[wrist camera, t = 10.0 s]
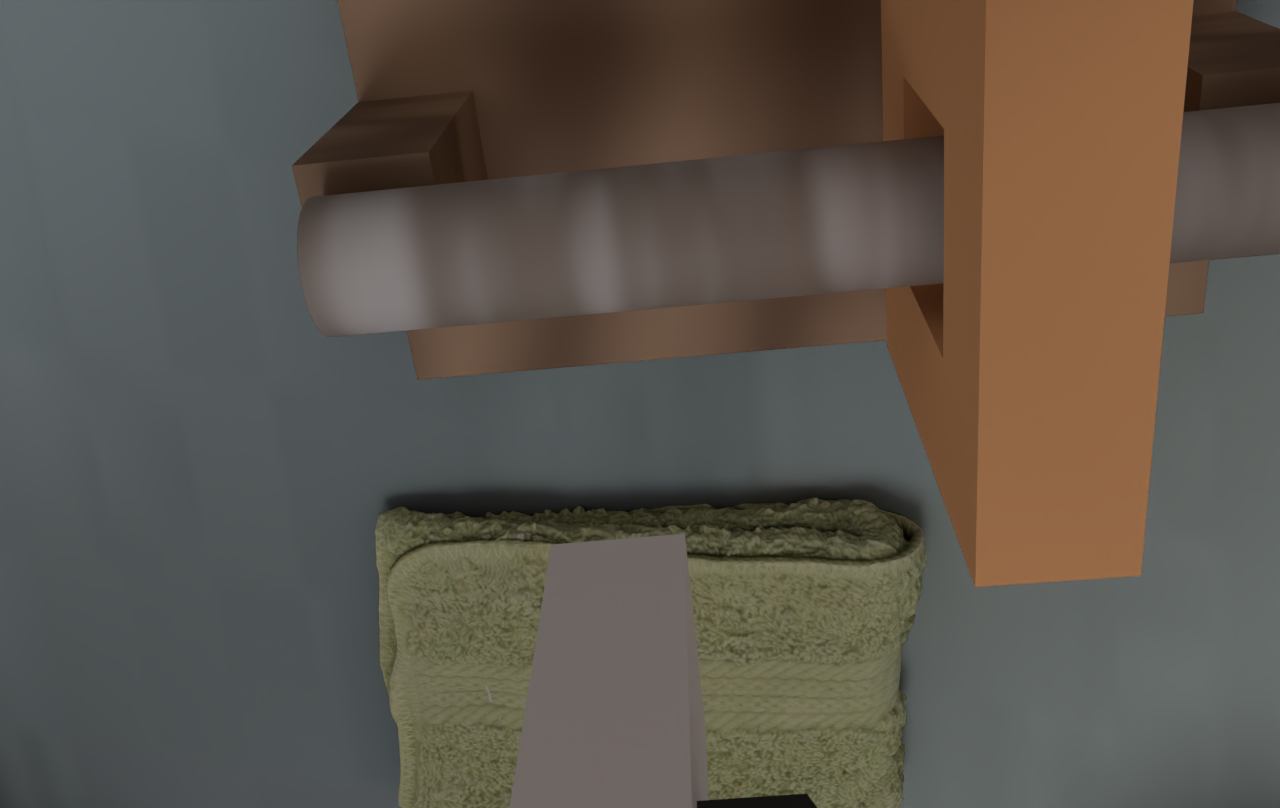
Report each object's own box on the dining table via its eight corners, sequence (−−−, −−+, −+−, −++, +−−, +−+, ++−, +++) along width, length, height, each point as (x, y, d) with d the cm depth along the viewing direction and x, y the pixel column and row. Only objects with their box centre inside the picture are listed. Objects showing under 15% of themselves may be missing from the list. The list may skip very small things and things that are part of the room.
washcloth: (367, 486, 39) (341, 541, 36) (922, 480, 38) (941, 536, 35) (414, 792, 45) (395, 860, 42) (896, 792, 44) (910, 862, 41)
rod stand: (427, 357, 36) (339, 549, 27) (339, -68, 31) (194, -10, 22) (1183, 293, 35) (1363, 474, 25) (1228, -170, 29) (1478, -153, 20)
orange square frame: (887, 345, 32) (974, 587, 23) (879, -97, 28) (986, -34, 18) (1001, 336, 32) (1141, 575, 22) (1013, -112, 27) (1199, -57, 17)
